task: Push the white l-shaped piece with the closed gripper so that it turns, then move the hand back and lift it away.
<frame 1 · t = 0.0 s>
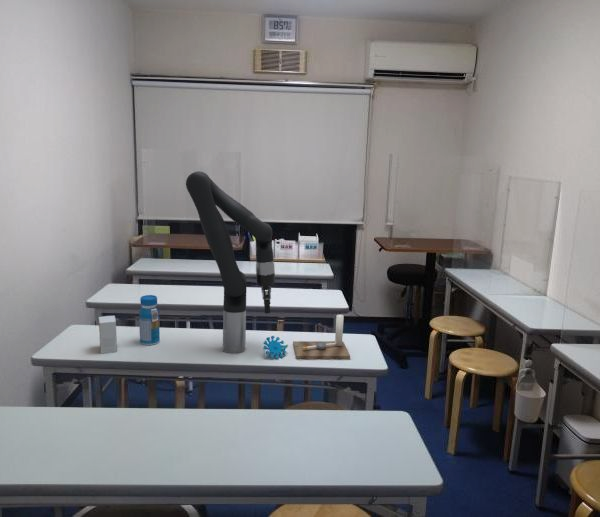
hand: (267, 309, 211), 17 cm above the table, tool pointing down, fingers open, 8 cm apart
dial board: (320, 351, 214), on the table
blue spiky ball: (275, 356, 208), on the table
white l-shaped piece: (323, 332, 212), point 8 cm above the table, hinge at 20.0°
small box: (108, 349, 208), on the table
beverage bottle: (149, 342, 217), on the table
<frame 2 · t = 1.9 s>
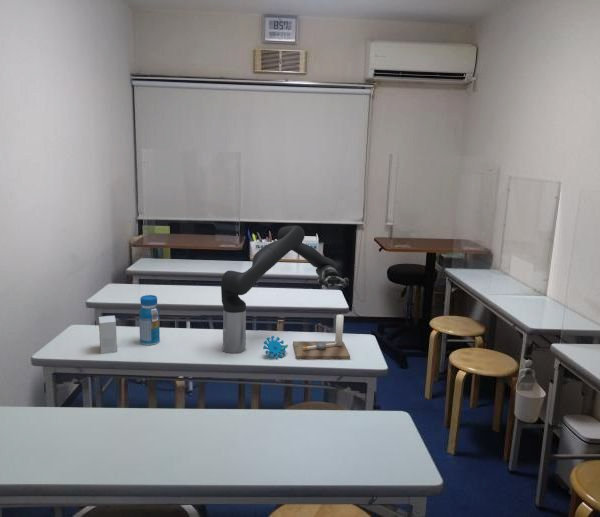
hand: (336, 285, 226), 24 cm above the table, tool horizontal, fingers open, 7 cm apart
nothing on the table moved.
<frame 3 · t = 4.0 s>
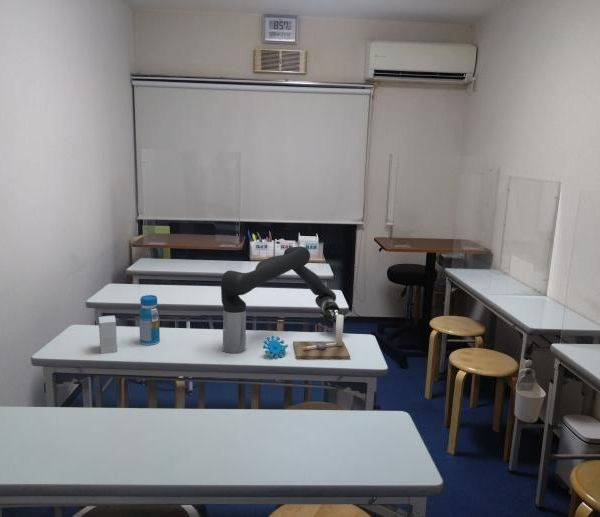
hand: (336, 321, 224), 9 cm above the table, tool horizontal, fingers closed
nothing on the table moved.
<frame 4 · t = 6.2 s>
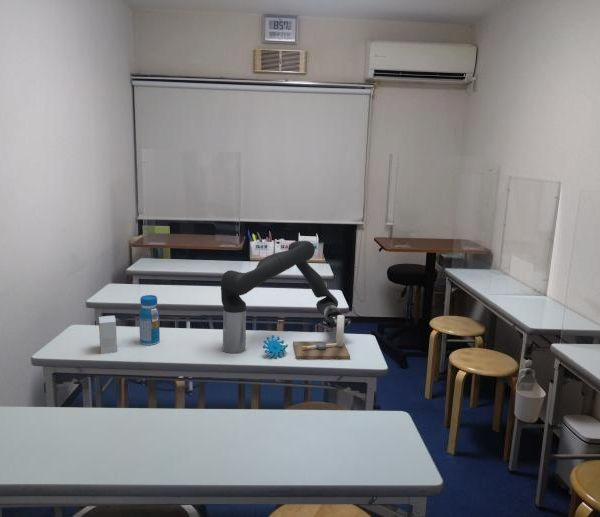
hand: (340, 328, 216), 9 cm above the table, tool horizontal, fingers closed
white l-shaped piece: (323, 332, 212), point 8 cm above the table, hinge at 14.8°, touching gripper
everything else where it was.
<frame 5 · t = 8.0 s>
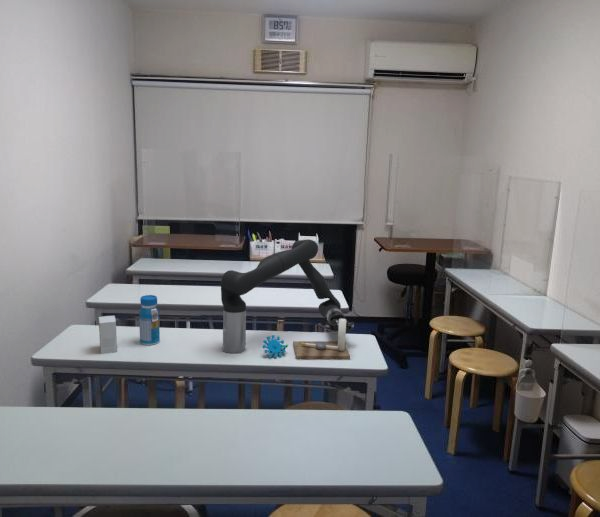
hand: (344, 332, 212), 9 cm above the table, tool horizontal, fingers closed
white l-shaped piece: (323, 333, 212), point 8 cm above the table, hinge at -16.4°, touching gripper
everything else where it was.
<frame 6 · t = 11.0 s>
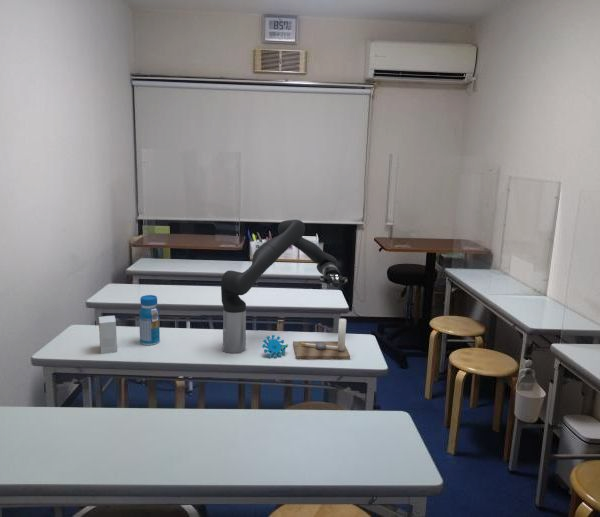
hand: (336, 285, 222), 25 cm above the table, tool horizontal, fingers closed
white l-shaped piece: (323, 333, 212), point 8 cm above the table, hinge at -16.5°
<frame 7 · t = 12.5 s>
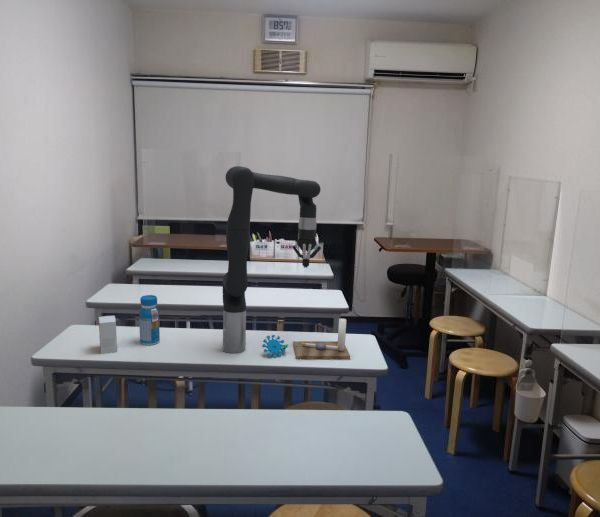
hand: (305, 267, 221), 33 cm above the table, tool pointing down, fingers closed
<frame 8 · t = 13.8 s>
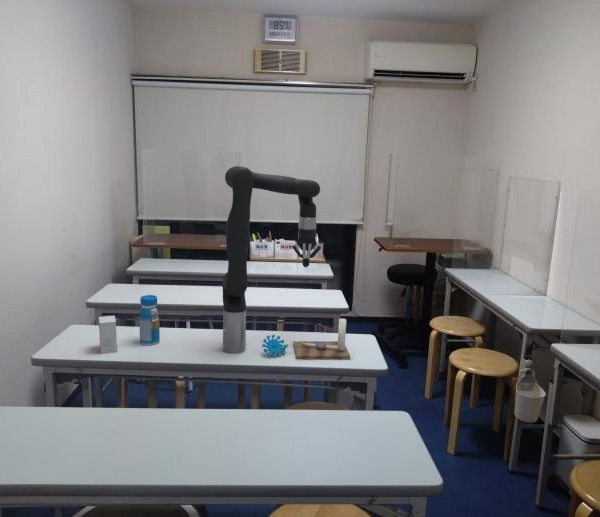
hand: (305, 266, 221), 33 cm above the table, tool pointing down, fingers closed
at the end: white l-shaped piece at -16° (first picture: +20°); blue spiky ball moved 1.5 cm from its start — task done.
